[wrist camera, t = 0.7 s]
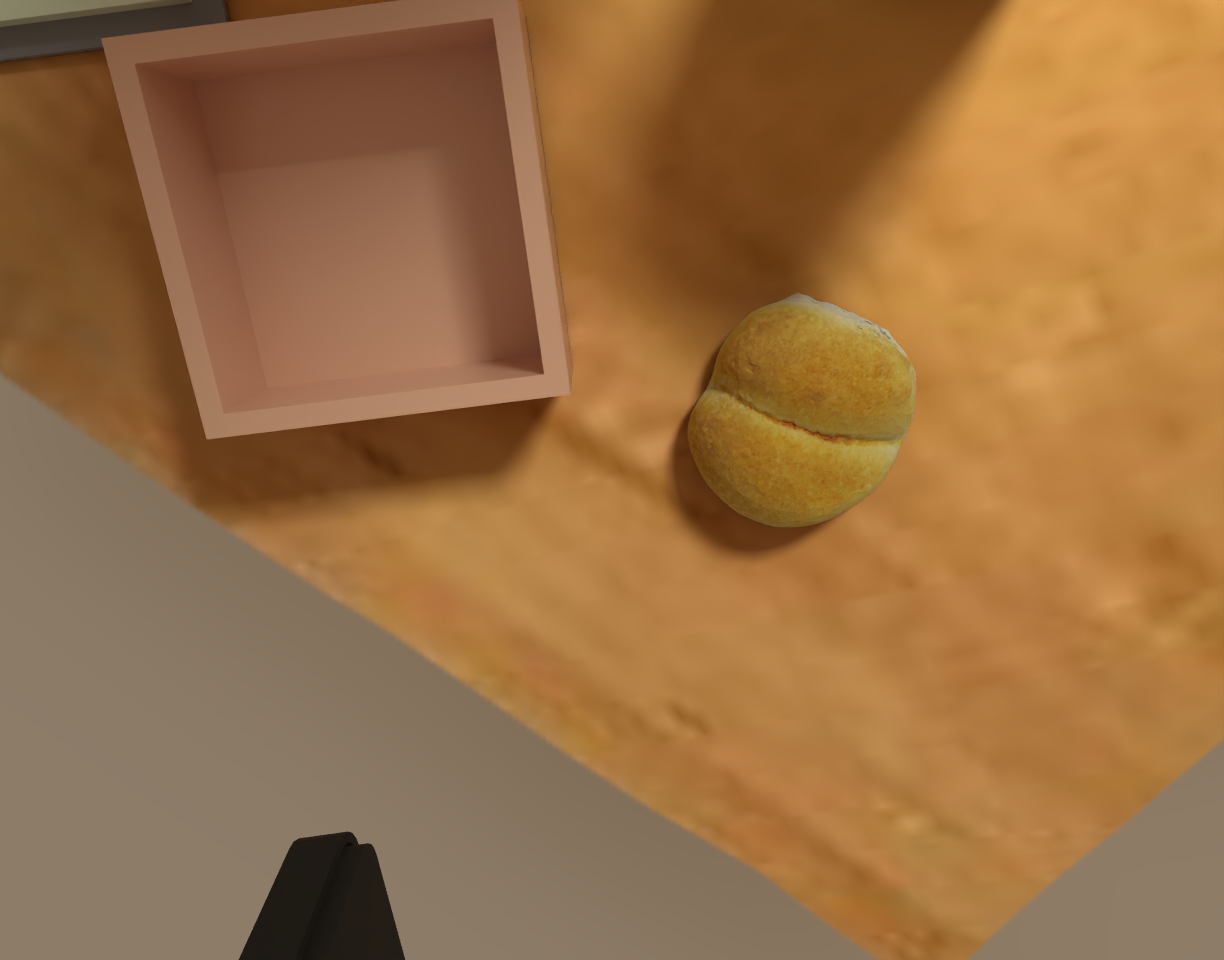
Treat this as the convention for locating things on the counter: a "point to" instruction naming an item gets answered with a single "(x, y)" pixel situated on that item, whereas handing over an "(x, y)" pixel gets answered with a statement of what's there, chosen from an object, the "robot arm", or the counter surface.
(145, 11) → the mat
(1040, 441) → the counter surface
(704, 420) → the bread roll
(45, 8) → the lid
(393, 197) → the open box
